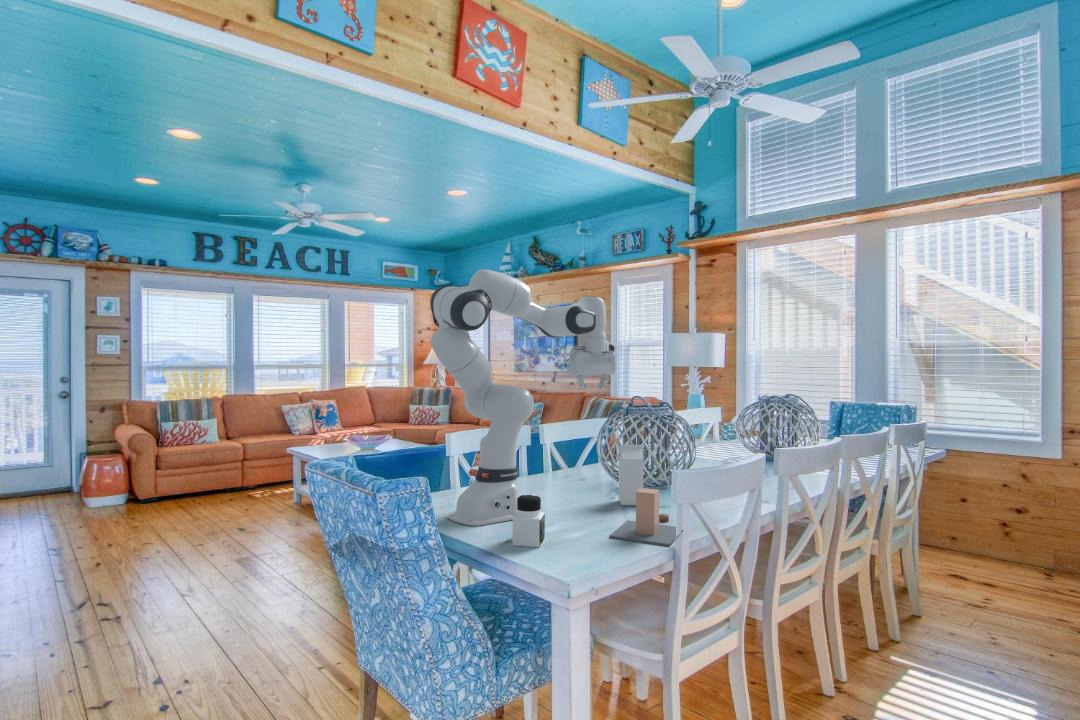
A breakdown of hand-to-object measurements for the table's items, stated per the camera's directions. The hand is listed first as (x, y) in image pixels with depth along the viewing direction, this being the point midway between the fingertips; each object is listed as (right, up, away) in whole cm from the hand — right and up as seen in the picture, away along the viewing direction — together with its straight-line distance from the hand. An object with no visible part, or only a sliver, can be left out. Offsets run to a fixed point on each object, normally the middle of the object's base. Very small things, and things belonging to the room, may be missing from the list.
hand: (592, 389), depth 192 cm
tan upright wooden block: (+12, -37, -33) cm, 51 cm away
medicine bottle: (-20, -38, -41) cm, 59 cm away
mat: (+12, -37, -33) cm, 51 cm away
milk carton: (+13, -37, 0) cm, 39 cm away
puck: (+19, -37, -20) cm, 46 cm away
